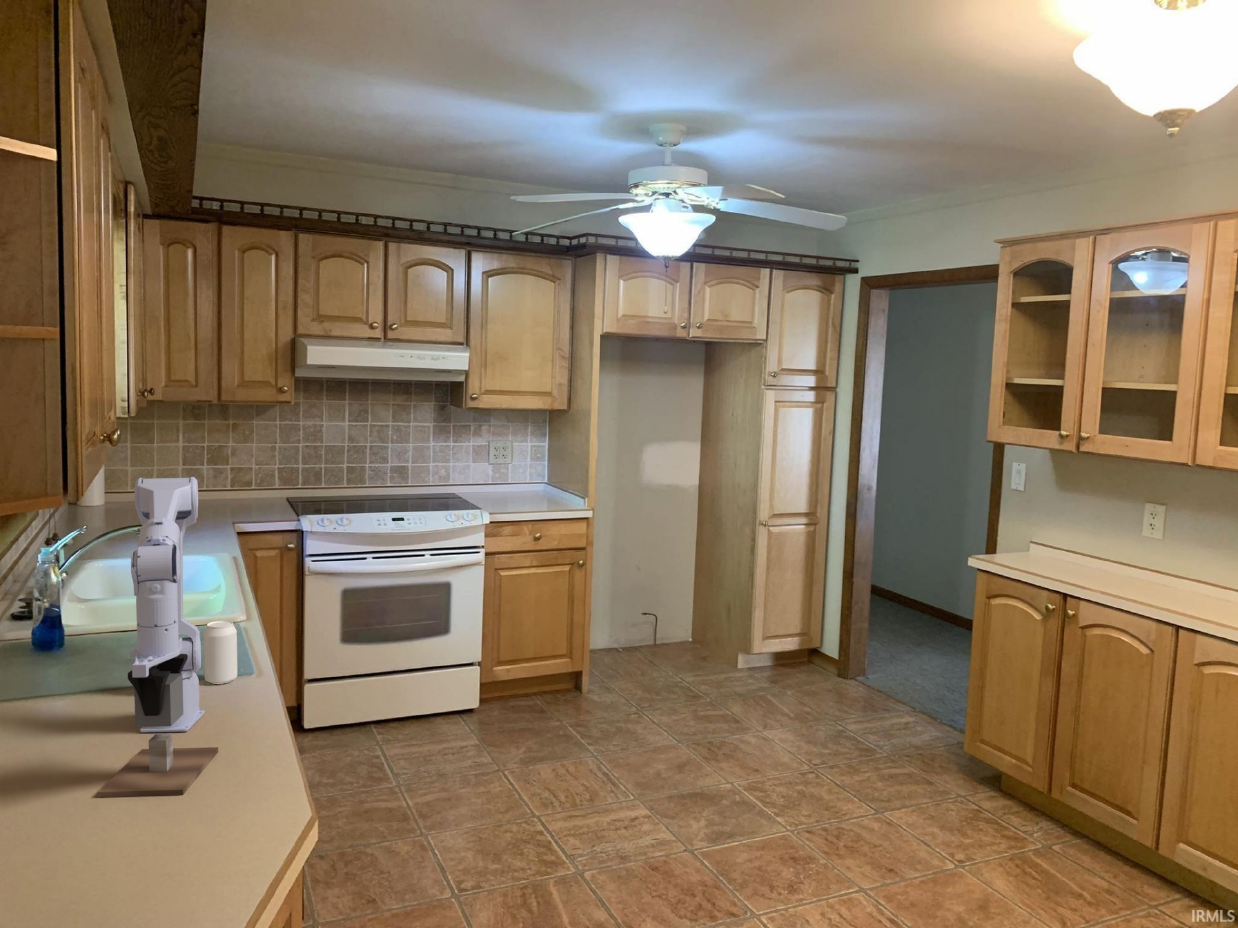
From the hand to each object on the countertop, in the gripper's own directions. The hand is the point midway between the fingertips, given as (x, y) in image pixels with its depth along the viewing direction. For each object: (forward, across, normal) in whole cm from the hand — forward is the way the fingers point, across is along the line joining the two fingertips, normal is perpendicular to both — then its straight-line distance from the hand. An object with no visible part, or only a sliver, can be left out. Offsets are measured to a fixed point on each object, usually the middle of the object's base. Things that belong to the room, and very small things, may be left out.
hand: (159, 708), depth 143 cm
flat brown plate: (+10, 0, 0) cm, 10 cm away
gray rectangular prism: (+2, 0, 0) cm, 2 cm away
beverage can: (+11, -45, -5) cm, 47 cm away
